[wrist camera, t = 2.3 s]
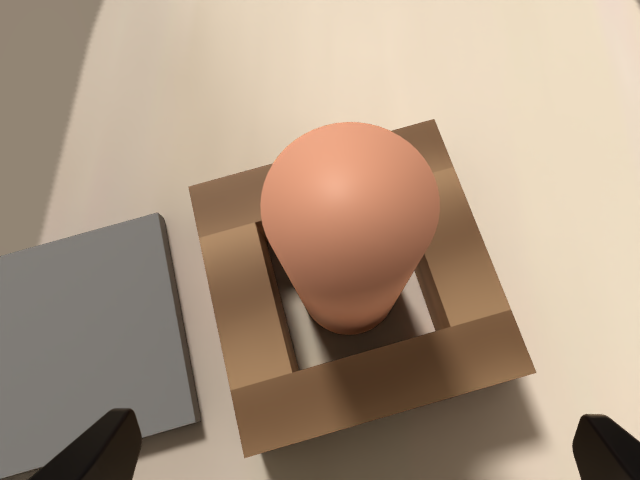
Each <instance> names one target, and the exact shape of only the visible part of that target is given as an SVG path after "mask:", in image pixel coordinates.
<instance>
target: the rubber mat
mask: <svg viewBox="0 0 640 480" xmlns="http://www.w3.org/2000/svg"><path fill="white" fill-rule="evenodd" d="M113 408H131V409H133V410H134V412H135V415H136V418H137V421H138V424H139V427H140V431H141V434H142V438H144V437H147V436H151V435H154V434H157V433H161V432H164V431H168V430H171V429H175V428H178V427H182V426H185V425H189V424H192V423H195V422H199V421H201V417H200V412H199V406H198V401H197V396H196V390H195V385H194V379H193V374H192V368H191V363H190V358H189V352H188V347H187V341H186V336H185V330H184V325H183V320H182V314H181V309H180V303H179V298H178V292H177V287H176V282H175V276H174V271H173V265H172V260H171V254H170V249H169V244H168V238H167V233H166V227H165V222H164V218H163V217H162V216H161V215H160V214H159V213H154V214H151V215H147V216H143V217H140V218H136V219H133V220H129V221H125V222H122V223H118V224H114V225H111V226H107V227H104V228H100V229H96V230H93V231H89V232H86V233H82V234H78V235H75V236H71V237H67V238H64V239H60V240H57V241H53V242H49V243H46V244H42V245H39V246H35V247H32V248H28V249H24V250H21V251H17V252H13V253H10V254H6V255H3V256H0V479H2V478H6V477H9V476H12V475H16V474H19V473H23V472H26V471H30V470H33V469H37V468H40V467H43V466H44V465H46V464H47V463H48V462H49V461H50V460H51V459H53V458H54V457H55V456H56V455H57V454H59V453H60V452H61V451H62V450H63V449H64V448H66V447H67V446H68V445H69V444H70V443H72V442H73V441H74V440H75V439H76V438H77V437H79V436H80V435H81V434H82V433H83V432H85V431H86V430H87V429H88V428H89V427H90V426H92V425H93V424H94V423H95V422H96V421H97V420H99V419H100V418H101V417H102V416H103V415H105V414H106V413H107V412H108V411H109V410H111V409H113Z"/></svg>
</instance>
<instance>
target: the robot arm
mask: <svg viewBox="0 0 640 480" xmlns="http://www.w3.org/2000/svg"><path fill="white" fill-rule="evenodd" d="M141 445H142V434H141V431H140V427H139V424H138V421H137V418H136V415H135V412H134V410H133V409H131V408H113V409H111V410H109V411H108V412H107V413H106V414H105V415H103V416H102V417H101V418H100V419H99V420H97V421H96V422H95V423H94V424H93V425H92V426H90V427H89V428H88V429H87V430H86V431H85V432H83V433H82V434H81V435H80V436H79V437H77V438H76V439H75V440H74V441H73V442H72V443H70V444H69V445H68V446H67V447H66V448H64V449H63V450H62V451H61V452H60V453H59V454H57V455H56V456H55V457H54V458H53V459H51V460H50V461H49V462H48V463H47V464H46V465H44V466H43V467H42V468H41V469H40V470H39V471H37V472H36V473H35V474H34V475H33V476H31V477H30V478H29V479H28V480H132V478H133V475H134V471H135V467H136V464H137V460H138V457H139V453H140V449H141ZM572 447H573V454H574V458H575V461H576V464H577V467H578V470H579V474H580V477H581V480H640V442H639V441H638V440H637V439H636V438H634V437H633V436H632V435H631V434H629V433H628V432H627V431H626V430H624V429H623V428H622V427H621V426H619V425H618V424H617V423H616V422H614V421H613V420H612V419H611V418H609V417H608V416H606V415H602V414H585V415H583V416H582V417H581V418H580V421H579V424H578V427H577V430H576V433H575V436H574V439H573V445H572Z"/></svg>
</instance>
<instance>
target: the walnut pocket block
mask: <svg viewBox="0 0 640 480" xmlns="http://www.w3.org/2000/svg"><path fill="white" fill-rule="evenodd" d="M391 132H393V133H395V134H397V135H399V136H401V137H402V138H403V139H405V140H406V141H408V142H409V143H410V144H411V145H412V146H413V147H415V148H416V149H417V150H418V151H419V153H420V154H421V155H422V156H423V157H424V159H425V160H426V162H427V163H428V165H429V166H430V168H431V170H432V172H433V175H434V177H435V180H436V183H437V186H438V191H439V197H440V214H439V221H438V225H437V229H436V232H435V234H434V237H433V239H432V241H431V243H430V245H429V247H428V248H427V250H426V252H425V253H424V255H423V257H422V258H421V260H420V262H419V263H418V265H417V267H416V268H415V273H416V276H417V279H418V282H419V284H420V287H421V290H422V293H423V296H424V299H425V302H426V305H427V307H428V310H429V313H430V316H431V319H432V322H433V325H434V327H435V330H436V331H435V332H431V333H428V334H425V335H421V336H418V337H414V338H411V339H407V340H404V341H400V342H397V343H393V344H390V345H386V346H383V347H379V348H376V349H373V350H369V351H366V352H362V353H359V354H355V355H352V356H348V357H345V358H341V359H338V360H334V361H331V362H327V363H324V364H320V365H317V366H314V367H310V368H307V369H303V370H300V371H299V369H298V365H297V362H296V358H295V354H294V350H293V346H292V342H291V338H290V334H289V330H288V326H287V322H286V318H285V314H284V310H283V306H282V302H281V298H280V294H279V290H278V286H277V282H276V278H275V274H274V270H273V266H272V262H271V258H270V255H269V251H268V247H267V243H266V242H269V241H268V239H267V237H266V234H265V231H264V228H263V224H262V219H261V207H260V203H261V193H262V189H263V185H264V181H265V179H266V176H267V174H268V172H269V170H270V168H271V166H272V164H269V165H266V166H262V167H258V168H255V169H251V170H248V171H244V172H240V173H237V174H233V175H229V176H226V177H222V178H219V179H215V180H211V181H208V182H204V183H200V184H197V185H193V186H190V187H189V192H190V197H191V202H192V206H193V211H194V216H195V221H196V226H197V231H198V236H199V240H200V245H201V250H202V255H203V260H204V265H205V269H206V274H207V279H208V284H209V289H210V294H211V299H212V303H213V308H214V313H215V318H216V323H217V328H218V332H219V337H220V342H221V347H222V352H223V357H224V362H225V366H226V371H227V376H228V381H229V386H230V391H231V396H232V400H233V405H234V410H235V415H236V420H237V425H238V429H239V434H240V439H241V444H242V449H243V454H244V458H246V457H250V456H253V455H257V454H260V453H264V452H267V451H270V450H274V449H277V448H281V447H284V446H288V445H291V444H294V443H298V442H301V441H305V440H308V439H311V438H315V437H318V436H322V435H325V434H329V433H332V432H335V431H339V430H342V429H346V428H349V427H352V426H356V425H359V424H363V423H366V422H370V421H373V420H376V419H380V418H383V417H387V416H390V415H393V414H397V413H400V412H404V411H407V410H411V409H414V408H417V407H421V406H424V405H428V404H431V403H434V402H438V401H441V400H445V399H448V398H452V397H455V396H458V395H462V394H465V393H469V392H472V391H475V390H479V389H482V388H486V387H489V386H493V385H496V384H499V383H503V382H506V381H510V380H513V379H517V378H520V377H523V376H527V375H530V374H534V373H536V370H535V368H534V365H533V363H532V360H531V358H530V355H529V353H528V351H527V348H526V346H525V343H524V341H523V338H522V336H521V333H520V331H519V328H518V326H517V323H516V321H515V318H514V316H513V313H512V311H511V308H510V306H509V303H508V301H507V298H506V296H505V293H504V291H503V289H502V286H501V284H500V281H499V279H498V276H497V274H496V271H495V269H494V266H493V264H492V261H491V259H490V256H489V254H488V251H487V249H486V246H485V244H484V241H483V239H482V236H481V234H480V231H479V229H478V227H477V224H476V222H475V219H474V217H473V214H472V212H471V209H470V207H469V204H468V202H467V199H466V197H465V194H464V192H463V189H462V187H461V184H460V182H459V179H458V177H457V174H456V172H455V170H454V167H453V165H452V162H451V160H450V157H449V155H448V152H447V150H446V147H445V145H444V142H443V140H442V137H441V135H440V132H439V130H438V127H437V125H436V122H435V120H434V119H433V120H429V121H425V122H422V123H418V124H414V125H411V126H407V127H404V128H400V129H396V130H393V131H391Z"/></svg>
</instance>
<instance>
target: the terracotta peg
mask: <svg viewBox="0 0 640 480" xmlns="http://www.w3.org/2000/svg"><path fill="white" fill-rule="evenodd" d="M260 207H261V219H262V224H263V228H264V231H265V234H266V237H267V239H268V241H269V243H270V245H271V247H272V249H273V250H274V252H275V254H276V256H277V258H278V259H279V261H280V263H281V265H282V266H283V268H284V270H285V272H286V274H287V275H288V277H289V279H290V281H291V283H292V284H293V286H294V288H295V290H296V291H297V293H298V295H299V297H300V299H301V300H302V302H303V304H304V306H305V308H306V309H307V311H308V313H309V314H310V316H311V317H312V318H313V319H314V320H315V321H316V322H317V323H318V324H319V325H320V326H322V327H324V328H325V329H327V330H329V331H331V332H334V333H338V334H343V335H354V334H360V333H363V332H366V331H369V330H371V329H373V328H374V327H376V326H377V325H379V324H380V323H381V322H382V321H383V320H384V319H385V318H386V316H387V315H388V314H389V312H390V310H391V309H392V307H393V305H394V304H395V302H396V300H397V299H398V297H399V295H400V294H401V292H402V290H403V289H404V287H405V285H406V283H407V282H408V280H409V278H410V277H411V275H412V273H413V272H414V270H415V268H416V267H417V265H418V263H419V262H420V260H421V258H422V257H423V255H424V253H425V252H426V250H427V248H428V247H429V245H430V243H431V241H432V239H433V237H434V234H435V232H436V229H437V225H438V221H439V214H440V197H439V191H438V186H437V183H436V180H435V177H434V175H433V172H432V170H431V168H430V166H429V165H428V163H427V162H426V160H425V159H424V157H423V156H422V155H421V154H420V153H419V151H418V150H417V149H416V148H415V147H413V146H412V145H411V144H410V143H409V142H408V141H406V140H405V139H403V138H402V137H401V136H399V135H397V134H395V133H393V132H391V131H389V130H387V129H384V128H382V127H379V126H375V125H371V124H365V123H358V122H344V123H335V124H330V125H326V126H322V127H320V128H317V129H314V130H312V131H310V132H308V133H306V134H304V135H302V136H301V137H299V138H297V139H296V140H294V141H293V142H292V143H291V144H290V145H288V146H287V147H286V148H285V149H284V150H283V151H282V152H281V153H280V155H279V156H278V157H277V159H276V160H275V161H274V163H273V164H272V166H271V168H270V170H269V172H268V174H267V176H266V179H265V181H264V185H263V189H262V193H261V203H260Z"/></svg>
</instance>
